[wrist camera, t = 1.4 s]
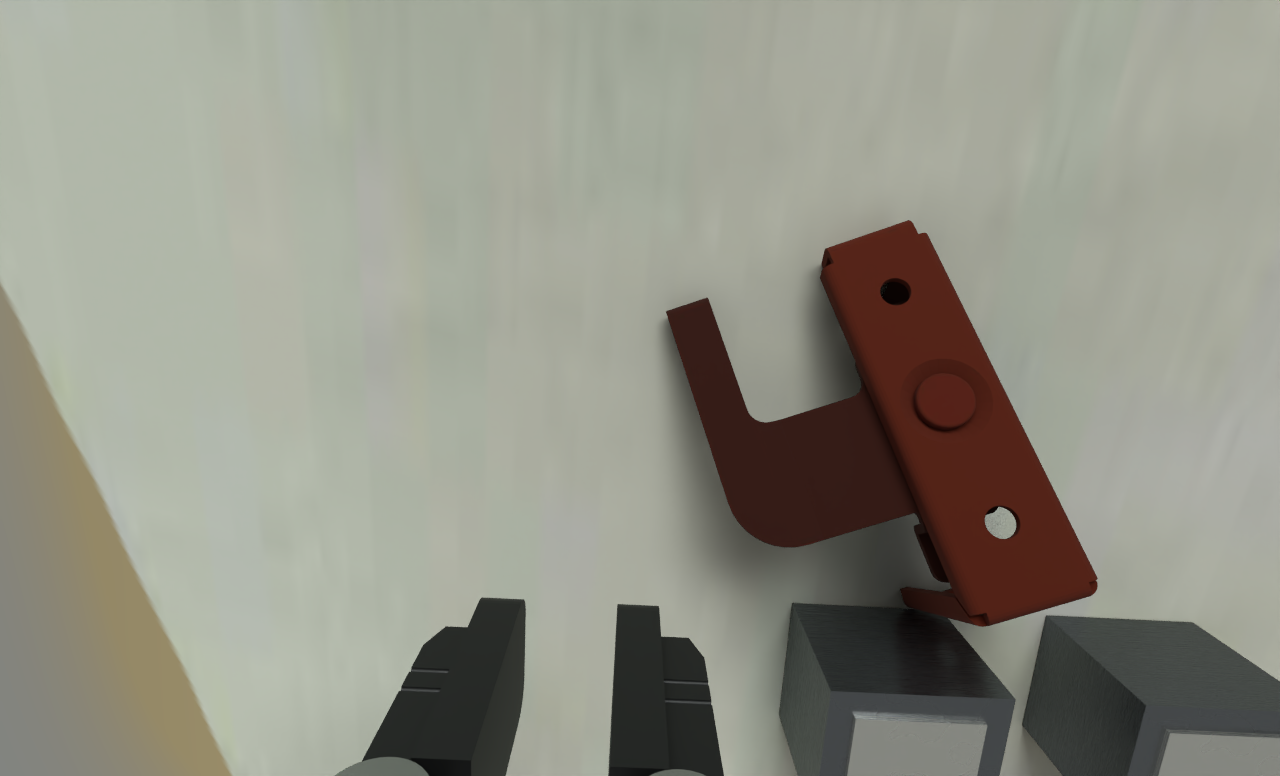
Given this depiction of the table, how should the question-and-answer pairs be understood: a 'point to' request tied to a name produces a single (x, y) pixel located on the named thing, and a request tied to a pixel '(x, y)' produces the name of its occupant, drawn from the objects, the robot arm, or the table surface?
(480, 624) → the robot arm
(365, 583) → the table surface
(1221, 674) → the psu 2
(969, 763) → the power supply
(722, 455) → the bracket
